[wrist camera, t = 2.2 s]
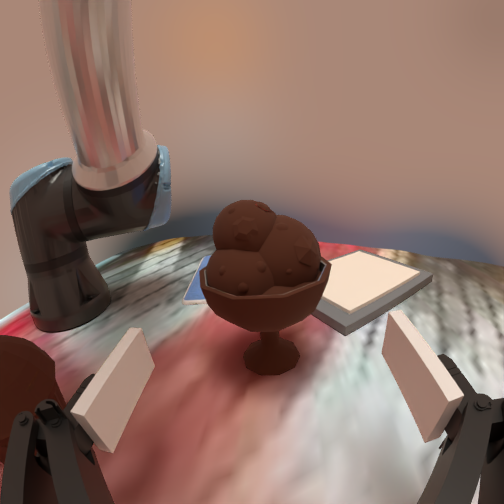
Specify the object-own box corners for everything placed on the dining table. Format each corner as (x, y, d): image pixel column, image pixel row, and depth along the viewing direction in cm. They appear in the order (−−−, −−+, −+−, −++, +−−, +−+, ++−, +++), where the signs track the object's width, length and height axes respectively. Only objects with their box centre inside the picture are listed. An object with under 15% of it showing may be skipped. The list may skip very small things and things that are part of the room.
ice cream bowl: (225, 408, 19) (186, 223, 15) (212, 335, 30) (189, 201, 25) (345, 378, 21) (357, 202, 17) (302, 318, 32) (296, 188, 27)
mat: (269, 286, 41) (268, 279, 40) (360, 255, 49) (360, 249, 49) (345, 335, 27) (346, 326, 27) (431, 280, 35) (432, 273, 35)
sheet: (285, 278, 40) (285, 275, 40) (359, 253, 47) (359, 251, 46) (349, 314, 29) (349, 310, 29) (419, 274, 35) (419, 271, 35)
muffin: (47, 518, 6) (-55, 430, 3) (-15, 449, 9) (-77, 365, 6) (116, 424, 17) (63, 327, 14) (46, 387, 20) (5, 306, 17)
